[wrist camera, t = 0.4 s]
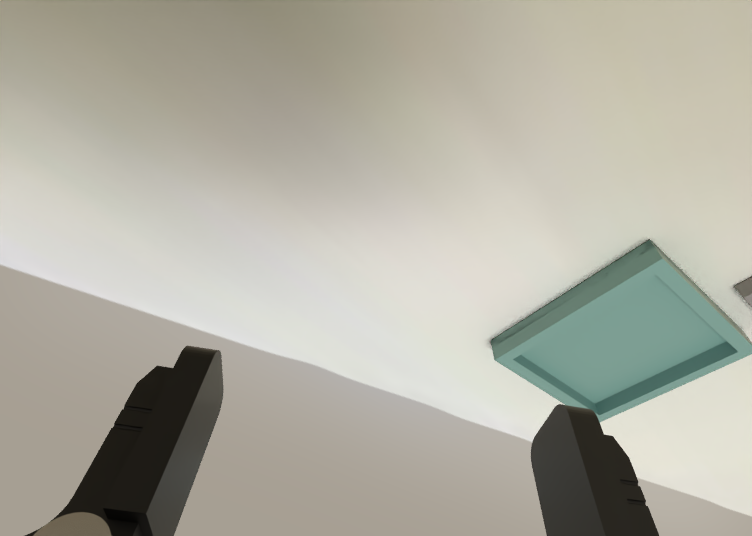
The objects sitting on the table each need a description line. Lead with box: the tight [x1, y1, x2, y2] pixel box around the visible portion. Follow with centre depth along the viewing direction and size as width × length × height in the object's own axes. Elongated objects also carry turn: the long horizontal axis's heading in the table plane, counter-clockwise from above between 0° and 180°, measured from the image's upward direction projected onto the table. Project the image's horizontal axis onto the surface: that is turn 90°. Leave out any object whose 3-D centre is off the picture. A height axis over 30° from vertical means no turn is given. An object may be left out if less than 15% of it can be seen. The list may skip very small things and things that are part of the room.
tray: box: [491, 240, 752, 422], centre depth 37 cm, size 14×14×2 cm
